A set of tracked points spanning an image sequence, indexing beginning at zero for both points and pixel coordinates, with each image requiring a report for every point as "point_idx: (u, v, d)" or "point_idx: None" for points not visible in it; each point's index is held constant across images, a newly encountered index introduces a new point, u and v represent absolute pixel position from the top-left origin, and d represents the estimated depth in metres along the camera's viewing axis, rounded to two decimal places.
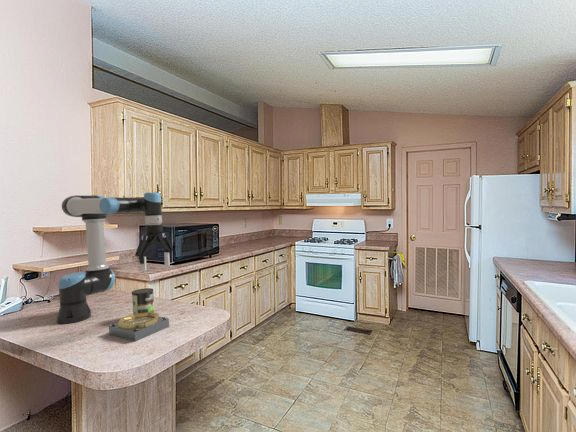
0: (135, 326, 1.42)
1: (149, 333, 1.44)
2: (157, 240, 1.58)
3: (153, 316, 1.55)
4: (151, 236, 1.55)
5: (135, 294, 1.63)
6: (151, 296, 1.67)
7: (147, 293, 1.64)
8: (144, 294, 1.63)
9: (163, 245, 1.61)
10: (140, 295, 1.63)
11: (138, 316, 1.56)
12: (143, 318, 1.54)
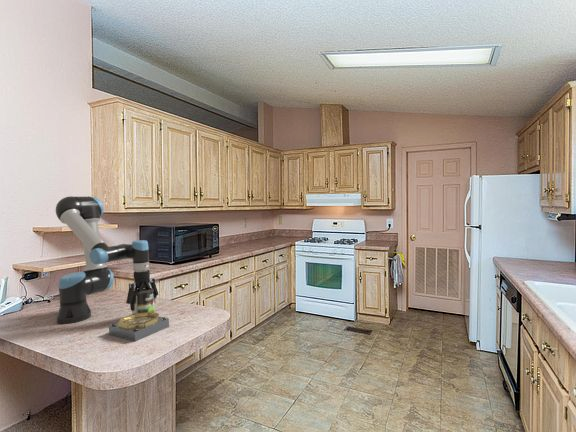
0: (135, 326, 1.42)
1: (149, 333, 1.44)
2: (144, 285, 1.68)
3: (153, 316, 1.55)
4: (139, 282, 1.65)
5: (135, 294, 1.63)
6: (151, 296, 1.67)
7: (147, 293, 1.64)
8: (144, 294, 1.63)
9: None
10: (140, 295, 1.63)
11: (138, 316, 1.56)
12: (143, 318, 1.54)
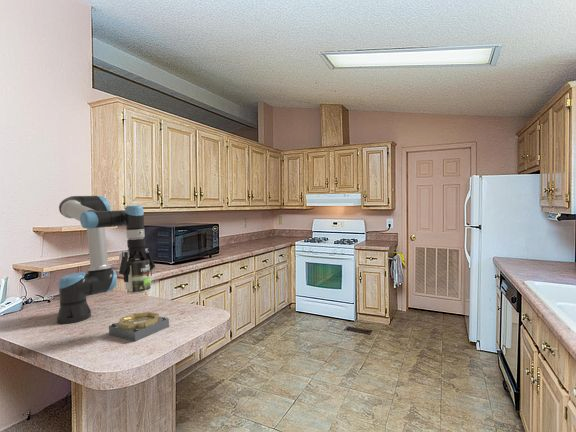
0: (135, 326, 1.42)
1: (149, 333, 1.44)
2: (139, 255, 1.51)
3: (153, 316, 1.55)
4: (133, 251, 1.48)
5: (129, 264, 1.46)
6: (147, 267, 1.50)
7: (142, 263, 1.48)
8: (139, 264, 1.47)
9: None
10: (135, 264, 1.46)
11: (138, 316, 1.56)
12: (143, 318, 1.54)
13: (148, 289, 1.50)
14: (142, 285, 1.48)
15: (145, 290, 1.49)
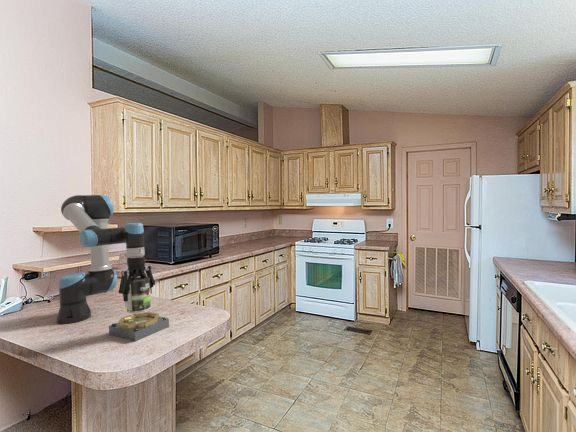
0: (135, 326, 1.42)
1: (149, 333, 1.44)
2: (139, 273, 1.49)
3: (153, 316, 1.55)
4: (133, 269, 1.46)
5: (129, 283, 1.44)
6: (147, 285, 1.48)
7: (142, 282, 1.46)
8: (139, 283, 1.45)
9: None
10: (134, 283, 1.44)
11: (138, 316, 1.56)
12: (143, 318, 1.54)
13: (148, 308, 1.48)
14: (142, 304, 1.46)
15: (145, 309, 1.47)
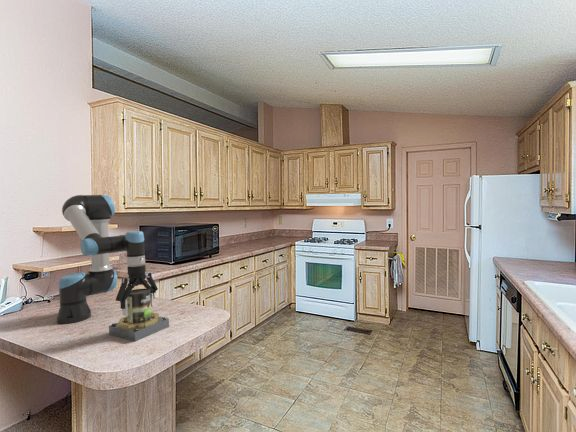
0: (135, 326, 1.42)
1: (149, 333, 1.44)
2: (140, 282, 1.49)
3: (153, 316, 1.55)
4: (133, 278, 1.46)
5: (130, 295, 1.45)
6: (148, 297, 1.49)
7: (143, 294, 1.46)
8: (140, 295, 1.45)
9: (146, 286, 1.53)
10: (135, 296, 1.45)
11: None
12: None
13: None
14: (143, 317, 1.46)
15: (145, 321, 1.47)
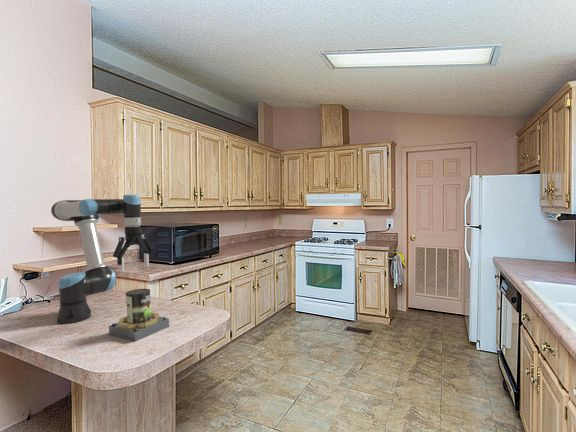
0: (135, 326, 1.42)
1: (149, 333, 1.44)
2: (136, 241, 1.61)
3: (153, 316, 1.55)
4: (129, 238, 1.58)
5: (129, 295, 1.45)
6: (148, 297, 1.49)
7: (143, 294, 1.46)
8: (140, 295, 1.45)
9: (142, 246, 1.64)
10: (135, 296, 1.45)
11: None
12: None
13: None
14: (143, 317, 1.46)
15: (145, 321, 1.47)
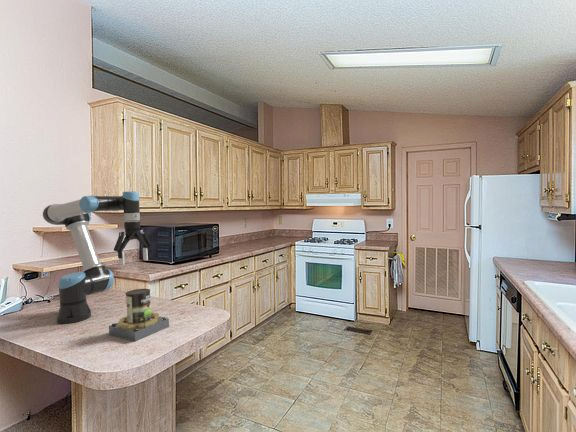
0: (135, 326, 1.42)
1: (149, 333, 1.44)
2: (135, 236, 1.68)
3: (153, 316, 1.55)
4: (129, 232, 1.65)
5: (129, 295, 1.45)
6: (147, 297, 1.49)
7: (143, 294, 1.46)
8: (140, 295, 1.45)
9: (141, 241, 1.71)
10: (135, 296, 1.45)
11: None
12: None
13: None
14: (143, 317, 1.46)
15: (145, 321, 1.47)
